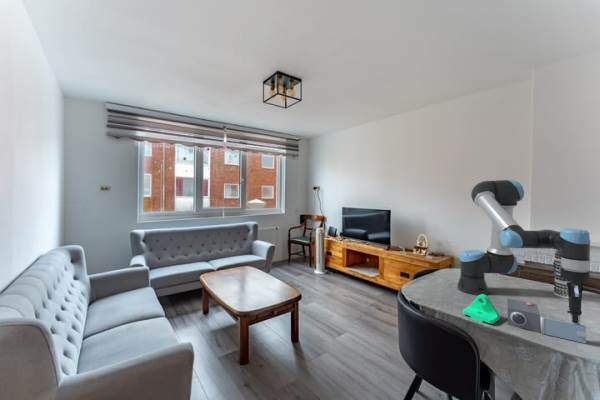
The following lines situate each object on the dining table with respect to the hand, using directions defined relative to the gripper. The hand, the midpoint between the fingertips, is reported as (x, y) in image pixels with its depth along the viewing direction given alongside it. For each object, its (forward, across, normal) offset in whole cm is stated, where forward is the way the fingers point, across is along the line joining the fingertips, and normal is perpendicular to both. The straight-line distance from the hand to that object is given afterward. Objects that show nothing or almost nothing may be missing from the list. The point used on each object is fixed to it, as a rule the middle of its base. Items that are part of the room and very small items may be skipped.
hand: (574, 329), depth 95 cm
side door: (+4, +2, -3) cm, 5 cm away
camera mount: (+5, +2, -29) cm, 30 cm away
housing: (+4, -4, -15) cm, 16 cm away
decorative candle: (+5, -56, +1) cm, 56 cm away
